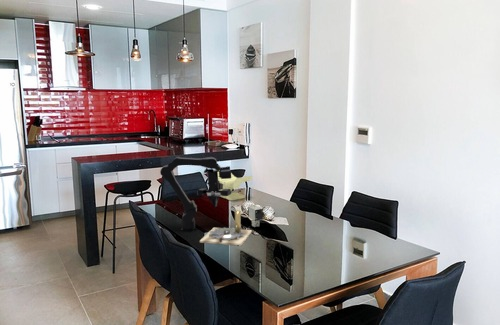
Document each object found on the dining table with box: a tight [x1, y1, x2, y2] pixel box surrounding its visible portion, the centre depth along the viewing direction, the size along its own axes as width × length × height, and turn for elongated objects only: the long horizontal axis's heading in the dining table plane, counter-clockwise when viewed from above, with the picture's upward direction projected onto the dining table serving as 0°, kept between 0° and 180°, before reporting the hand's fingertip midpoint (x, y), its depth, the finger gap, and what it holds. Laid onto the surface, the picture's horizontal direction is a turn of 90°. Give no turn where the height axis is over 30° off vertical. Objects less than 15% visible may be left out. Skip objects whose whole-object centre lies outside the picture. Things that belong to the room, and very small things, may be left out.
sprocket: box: [209, 210, 244, 241], centre depth 212 cm, size 18×18×12 cm
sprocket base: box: [199, 227, 253, 247], centre depth 213 cm, size 22×22×3 cm
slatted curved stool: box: [218, 172, 253, 201], centre depth 298 cm, size 30×16×18 cm, turn 36°
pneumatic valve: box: [247, 205, 265, 228], centre depth 231 cm, size 6×12×12 cm, turn 27°
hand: (215, 206), depth 226 cm, fingers closed
